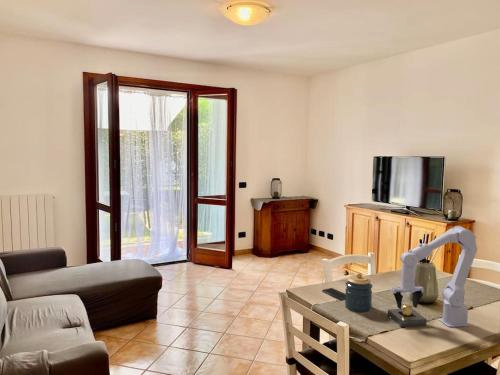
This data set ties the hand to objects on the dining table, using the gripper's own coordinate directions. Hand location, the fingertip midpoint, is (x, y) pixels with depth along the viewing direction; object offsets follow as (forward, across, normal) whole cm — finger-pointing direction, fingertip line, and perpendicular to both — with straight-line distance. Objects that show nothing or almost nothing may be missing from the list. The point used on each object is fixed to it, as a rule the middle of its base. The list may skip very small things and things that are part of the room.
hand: (407, 307), depth 173 cm
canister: (+6, -16, +17) cm, 24 cm away
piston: (+6, 0, 0) cm, 6 cm away
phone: (+7, -21, +35) cm, 41 cm away
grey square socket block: (+6, 0, 0) cm, 6 cm away
